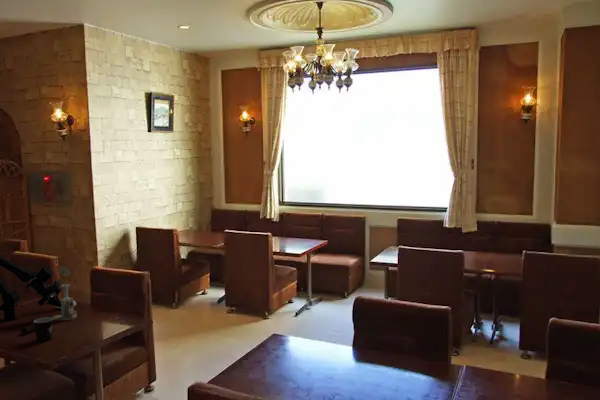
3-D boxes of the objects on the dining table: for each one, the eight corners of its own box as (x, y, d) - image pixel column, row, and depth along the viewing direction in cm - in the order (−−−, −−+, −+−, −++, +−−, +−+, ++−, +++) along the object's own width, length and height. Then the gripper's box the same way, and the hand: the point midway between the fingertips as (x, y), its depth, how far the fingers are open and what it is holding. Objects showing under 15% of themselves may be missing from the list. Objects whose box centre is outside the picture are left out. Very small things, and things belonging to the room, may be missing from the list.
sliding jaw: (60, 317, 278) (59, 300, 277) (64, 314, 284) (63, 297, 283) (64, 317, 278) (63, 300, 277) (68, 314, 284) (68, 297, 283)
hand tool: (26, 335, 255) (26, 326, 254) (20, 334, 256) (20, 325, 256) (56, 324, 273) (55, 315, 272) (50, 323, 274) (50, 315, 274)
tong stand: (50, 320, 278) (49, 301, 277) (55, 316, 284) (54, 297, 283) (72, 319, 278) (71, 300, 278) (76, 316, 284) (76, 297, 284)
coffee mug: (40, 344, 243) (39, 324, 242) (30, 340, 247) (30, 321, 246) (63, 336, 252) (62, 317, 252) (53, 333, 257) (52, 314, 256)
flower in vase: (80, 306, 303) (79, 266, 301) (63, 311, 294) (61, 269, 291) (67, 303, 310) (66, 263, 308) (50, 308, 301) (48, 267, 298)
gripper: (42, 281, 270) (64, 301, 271) (57, 273, 288) (78, 292, 290) (28, 296, 270) (50, 315, 271) (44, 287, 289) (65, 305, 290)
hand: (61, 306), depth 281 cm, fingers closed, pressing on sliding jaw
